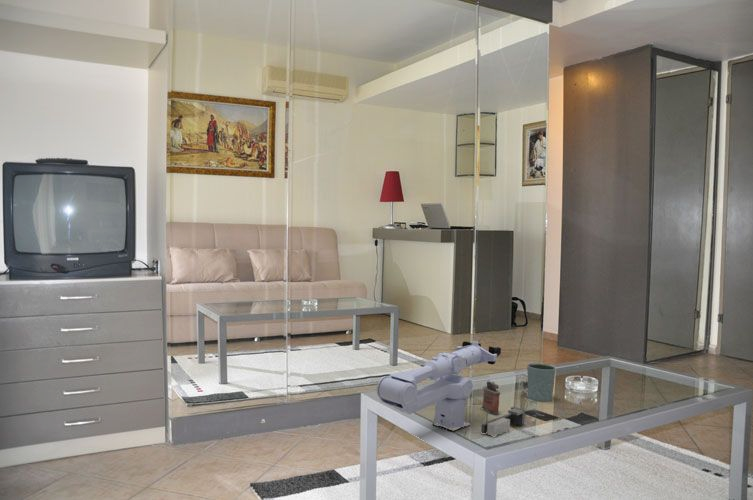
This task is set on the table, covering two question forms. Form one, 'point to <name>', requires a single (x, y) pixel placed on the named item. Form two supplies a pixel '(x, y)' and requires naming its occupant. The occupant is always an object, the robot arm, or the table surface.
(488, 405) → the lighter
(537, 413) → the solid state drive
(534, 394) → the green plant pot
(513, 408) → the bracket
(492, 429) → the bar
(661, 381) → the table surface
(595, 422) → the table surface
